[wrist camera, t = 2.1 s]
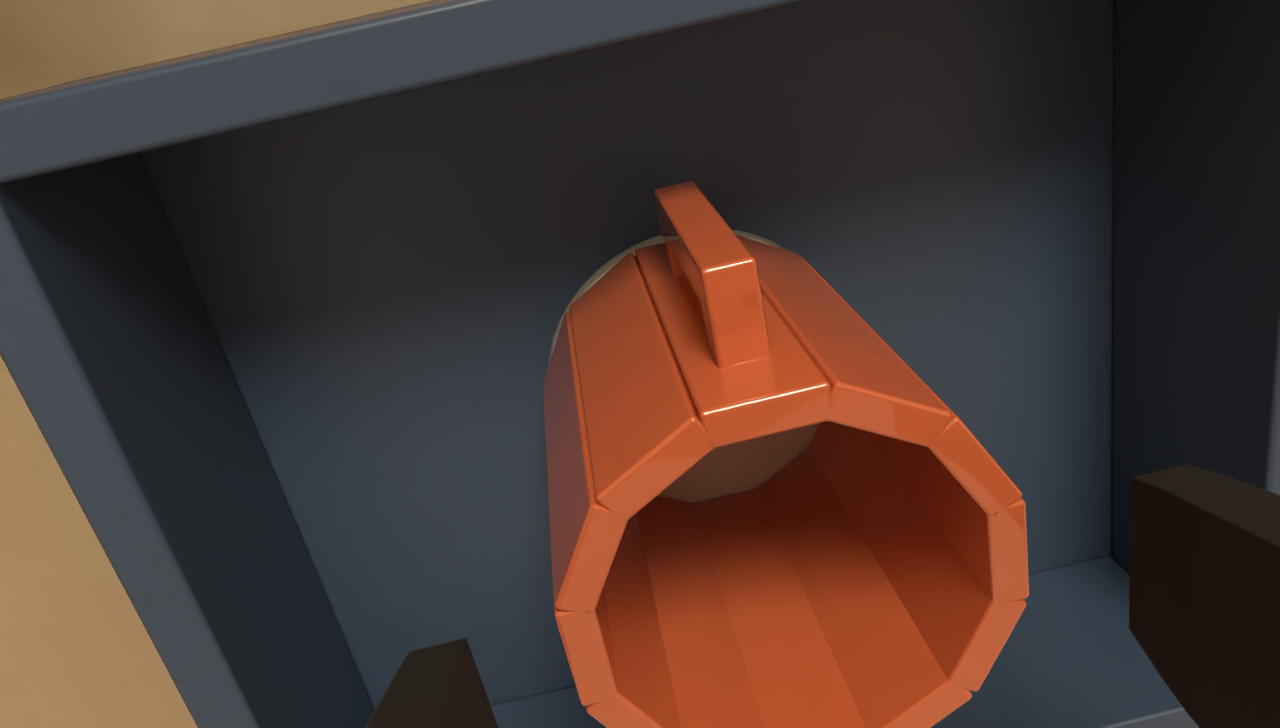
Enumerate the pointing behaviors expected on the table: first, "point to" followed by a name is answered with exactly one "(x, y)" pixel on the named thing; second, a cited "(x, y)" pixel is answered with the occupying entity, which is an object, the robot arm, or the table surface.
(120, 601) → the table surface
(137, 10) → the table surface
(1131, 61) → the bin
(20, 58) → the table surface
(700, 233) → the cup
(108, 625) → the table surface
